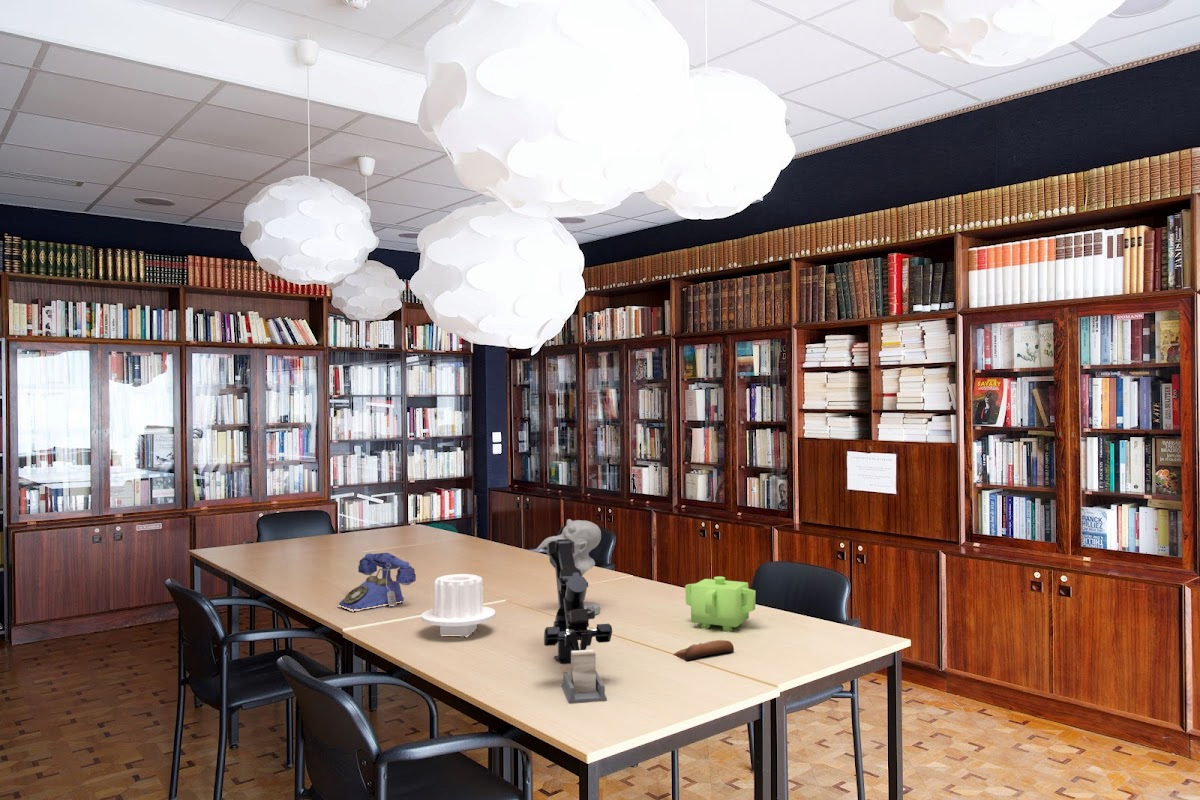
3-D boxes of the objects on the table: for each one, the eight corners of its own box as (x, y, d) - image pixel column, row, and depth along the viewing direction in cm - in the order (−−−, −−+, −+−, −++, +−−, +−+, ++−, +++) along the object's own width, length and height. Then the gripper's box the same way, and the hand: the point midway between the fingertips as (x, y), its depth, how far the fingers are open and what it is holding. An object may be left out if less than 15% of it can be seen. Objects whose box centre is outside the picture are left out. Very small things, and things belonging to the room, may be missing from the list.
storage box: (674, 629, 287) (674, 579, 288) (698, 615, 307) (697, 568, 308) (744, 638, 276) (743, 586, 276) (764, 622, 296) (763, 574, 296)
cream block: (571, 688, 225) (571, 650, 225) (593, 686, 226) (592, 649, 226) (573, 692, 221) (573, 655, 221) (595, 691, 222) (595, 653, 222)
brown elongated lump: (717, 646, 266) (724, 630, 263) (729, 662, 261) (736, 646, 258) (670, 654, 258) (676, 638, 255) (682, 671, 252) (688, 655, 249)
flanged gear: (481, 644, 271) (480, 586, 271) (409, 641, 276) (408, 584, 276) (504, 625, 296) (504, 572, 296) (438, 622, 301) (438, 570, 301)
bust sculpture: (541, 607, 322) (540, 516, 323) (603, 607, 321) (602, 516, 322) (535, 617, 306) (534, 522, 307) (600, 617, 305) (599, 522, 305)
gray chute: (561, 685, 229) (561, 672, 229) (597, 683, 231) (597, 669, 231) (568, 703, 216) (568, 688, 216) (606, 700, 217) (606, 685, 217)
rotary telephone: (317, 601, 338) (317, 552, 338) (371, 592, 354) (370, 544, 355) (368, 618, 308) (368, 564, 308) (424, 607, 325) (424, 556, 325)
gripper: (544, 598, 230) (549, 649, 219) (610, 594, 234) (618, 644, 223) (541, 620, 238) (546, 670, 227) (605, 616, 241) (613, 665, 230)
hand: (581, 662), depth 226 cm, fingers closed
